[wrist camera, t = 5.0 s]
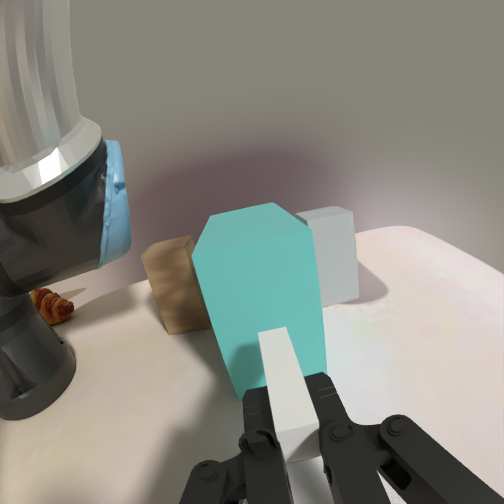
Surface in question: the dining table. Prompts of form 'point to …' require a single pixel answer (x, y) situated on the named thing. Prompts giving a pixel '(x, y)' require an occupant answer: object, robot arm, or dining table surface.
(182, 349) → the dining table surface
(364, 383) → the dining table surface
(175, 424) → the dining table surface
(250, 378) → the teal block
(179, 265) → the walnut block
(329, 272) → the grey block
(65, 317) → the croissant
